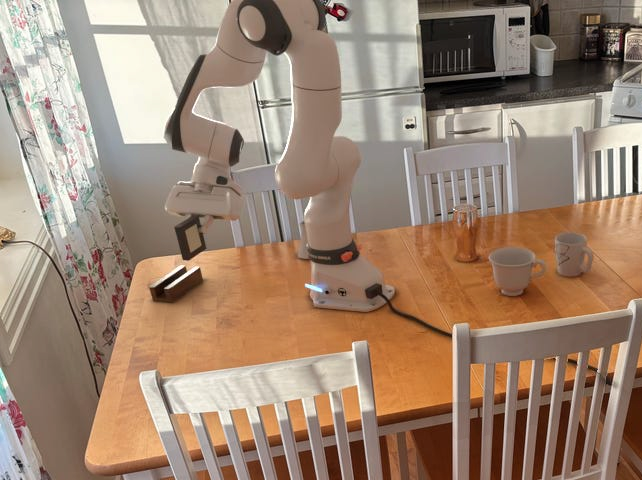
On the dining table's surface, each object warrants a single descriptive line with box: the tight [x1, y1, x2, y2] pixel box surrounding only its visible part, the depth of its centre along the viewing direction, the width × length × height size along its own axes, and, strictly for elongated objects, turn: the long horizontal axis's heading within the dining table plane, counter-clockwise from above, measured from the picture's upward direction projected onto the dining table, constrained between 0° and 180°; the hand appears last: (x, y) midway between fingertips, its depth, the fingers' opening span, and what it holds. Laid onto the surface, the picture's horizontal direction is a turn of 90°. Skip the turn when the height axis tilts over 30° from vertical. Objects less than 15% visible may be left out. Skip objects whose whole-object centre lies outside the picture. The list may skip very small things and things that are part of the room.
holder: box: [149, 264, 204, 304], centre depth 195 cm, size 14×6×4 cm, turn 165°
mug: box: [554, 231, 594, 278], centre depth 195 cm, size 11×8×10 cm
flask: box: [297, 220, 310, 260], centre depth 211 cm, size 7×7×10 cm
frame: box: [173, 216, 207, 262], centre depth 186 cm, size 8×2×9 cm, turn 165°
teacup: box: [488, 246, 547, 297], centre depth 187 cm, size 12×15×10 cm
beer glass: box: [452, 203, 479, 263], centre depth 205 cm, size 7×7×15 cm
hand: (196, 232), depth 188 cm, fingers closed on frame, 2 cm apart
